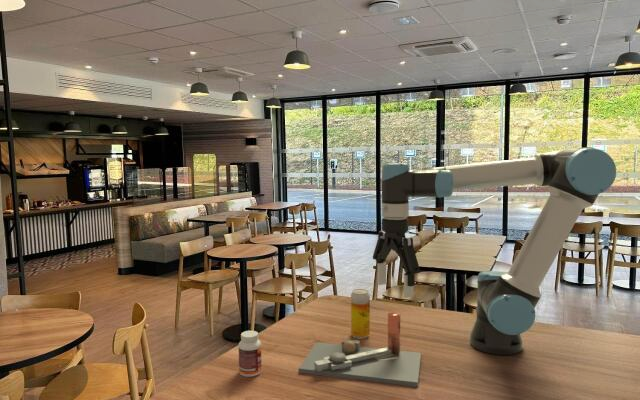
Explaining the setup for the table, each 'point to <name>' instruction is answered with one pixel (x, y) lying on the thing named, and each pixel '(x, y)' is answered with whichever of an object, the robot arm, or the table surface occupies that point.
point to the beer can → (360, 313)
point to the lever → (391, 349)
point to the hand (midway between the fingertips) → (394, 290)
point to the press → (365, 364)
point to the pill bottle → (250, 354)
